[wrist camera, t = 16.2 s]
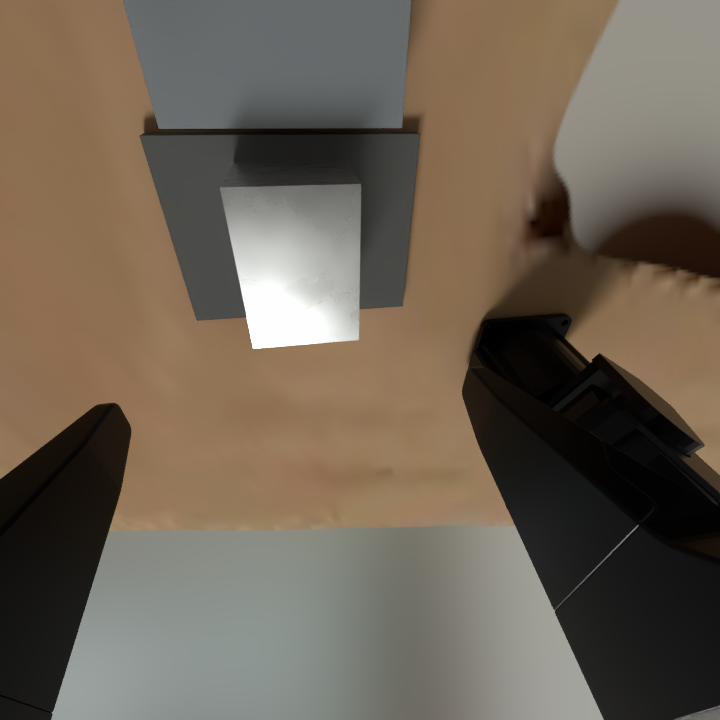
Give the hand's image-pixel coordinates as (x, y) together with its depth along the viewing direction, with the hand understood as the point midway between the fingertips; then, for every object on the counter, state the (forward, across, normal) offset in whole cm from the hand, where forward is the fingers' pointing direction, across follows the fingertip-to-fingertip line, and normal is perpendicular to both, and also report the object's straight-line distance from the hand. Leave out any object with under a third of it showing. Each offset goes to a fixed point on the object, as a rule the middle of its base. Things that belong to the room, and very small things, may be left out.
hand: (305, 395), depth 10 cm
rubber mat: (+12, 0, 0) cm, 12 cm away
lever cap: (+12, 0, 0) cm, 12 cm away
